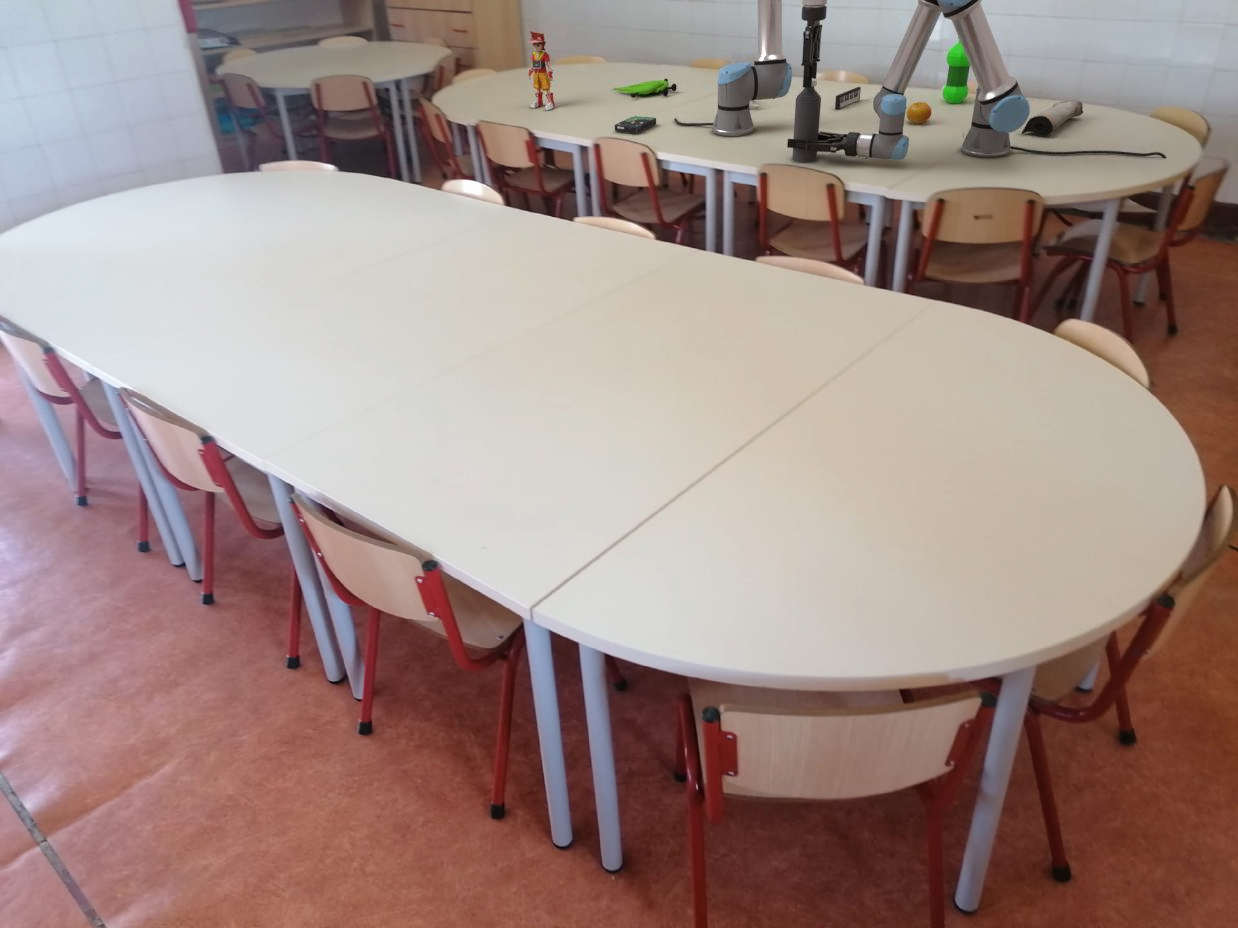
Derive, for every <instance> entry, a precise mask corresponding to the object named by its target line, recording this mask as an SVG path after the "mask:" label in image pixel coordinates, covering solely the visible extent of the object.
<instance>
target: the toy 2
mask: <svg viewBox="0 0 1238 928" xmlns="http://www.w3.org/2000/svg"><path fill="white" fill-rule="evenodd" d="M669 85H670V83H669V79H668V78H664V79H663V80H649V81H644V82H640V83H634V84H629V85H627V86H621V87H613V88H612V89H613V90H616V91H619V92H623V93H627V94H628V93H629V94H631V95H630V96H631V98H632V99H634V98H636V96H637V95H650V94H652V93H654V94H658V93H662V95H663V96H665V97H667V96H668V95H669V90H671V91H672V92H676V91H677V84H676V83H672V84H671V86H669Z"/></svg>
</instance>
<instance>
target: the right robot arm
mask: <svg viewBox="0 0 1238 928" xmlns="http://www.w3.org/2000/svg"><path fill="white" fill-rule="evenodd" d="M917 3H918V4H917V5H916V8H915V11H914V12H913V15H912V17H911V19H910V22H909V24H908V26H907V29H906V31H905V33H904V35H903V37H902V40H901V42H900V45H899V47H898V49H897V51H896V54H895V56H894V58H893V61H892V63H891V65H890V68H889V70H888V72H887V74H886V76H885V78H884V81H883V84H882V86H881V88H880V90H879V92H877V93H876V94H875V95H874V97H873V100H872V107H873V111H874V113H875V114H876V115H877V116H878V118H879V126H878V133H872V132H859V131H858V132H857V131H849V132H848V133H836V132H828V131H821V130H819V135H818V141H808V139H806V140H800V139H794V138H787V143H786V144H787V145H786V148H787V149H789V148H790V149H793V148H800V149H806V151H807V152H817V153H832V154H836V153H837V152H840V151H844V155H845V156H846V157H852V158H853V157H854V158H856V157H858V158H864V159H865V160H868V159H879V160H886V161H887V160H889V161H903V160H904V159H905V158H906V157H907V155H908V151H909V147H910V138H909V136H907V135H905V134H904V126H905V125H904V124H905V118H906V112H907V96H906V95H905V93H906V90H907V88H908V86H909V83H910V81H911V80H912V78H913V76H914V73H915V71H916V69H917V67H918V64H919V62H920V60H921V58H922V56H923V53H924V52H925V49H926V47H927V45H928V43H929V41H930V38H931V35H932V34H933V31H934V30H935V27H936V25H937V23H938V20H939V19H940V16H941V14H942V16H943V18H944V19H947V20H951V22H952V24H953V28H954V30H955V32H956V35H957V38H958V37H959V38H958V40H959V39H960V42H961V44H962V46H963V49H964V51H965V54H966V56H967V59H968V61H969V63H970V68H971V70H972V73H973V75H974V79H975V80H976V82H977V88H976V90H975V91H976V93H975V99H974V104H973V105H974V106H973V112H972V118H971V123H970V128H969V130H968V132H967V134H966V136H965V132H963V134H962V138H963V139H964V140H963V141H962V144H961V149H960V151H961V153H963V154H964V155H967V156H970V157H976V158H984V159H985V158H986V159H988V158H989V159H990V158H991V159H993V158H1000V157H1001V158H1002V157H1005V156H1007V155H1009V154H1010V153H1011V150H1014V151H1020V152H1025V153H1031V154H1038V155H1039V154H1040V155H1059V156H1060V155H1061V156H1062V155H1063V156H1064V155H1082V154H1085V155H1086V154H1087V155H1088V154H1089V155H1090V154H1107V155H1108V154H1109V155H1110V154H1111V155H1125V156H1134V157H1150V156H1159V157H1161V158H1163V159H1167V156H1166V155H1165V154H1164V153H1162V152H1159V151H1153V152H1144V153H1142V152H1132V151H1131V152H1130V151H1121V150H1074V151H1073V150H1071V151H1048V150H1047V151H1045V150H1035V149H1029V148H1025V147H1024V148H1023V147H1019V146H1012V145H1011V139H1010V138H1011V137H1010V133H1014V132H1016V131H1018V130H1019V129H1020V128H1022V127H1023V126H1024V125H1025V123H1027V120H1028V118H1029V116H1030V112H1031V106H1030V104H1029V101H1028V99H1027V98H1026V97H1025V96H1024V95H1023V92H1022V90H1021V88H1020V84H1019V82H1018V80H1017V78H1016V77H1014V76H1010V75H1009V73H1008V70H1007V68H1006V65H1005V62H1004V60H1003V57H1002V55H1001V52H1000V49H999V47H998V44H997V42H996V39H995V37H994V35H993V31H992V30H991V27H990V24H989V21H988V19H987V17H986V14H985V11H984V9H983V6H982V0H917Z"/></svg>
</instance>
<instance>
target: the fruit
mask: <svg viewBox="0 0 1238 928" xmlns="http://www.w3.org/2000/svg"><path fill="white" fill-rule="evenodd" d="M931 116H932V108H931V106H930V105H929V104H928V103H926V102H924V101H919V102H914V103H912V104H910V106H908V108H907V109H906V119H907V120H908V121H909V122H910V123H911V124H924V123H926V122H928V121H929V119H930V117H931Z"/></svg>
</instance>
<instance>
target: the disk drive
mask: <svg viewBox="0 0 1238 928" xmlns="http://www.w3.org/2000/svg"><path fill="white" fill-rule="evenodd" d="M656 125H657V117H652V116H651V117H650V116H637V115H633V116H630V117H628V118H626V119H624V120H621V121H619V122H618V123H615V124H614V132H617V133H618V132H619V133H626V134H635V135H637V134H639V133H642V132H644V131H646V130H647V129H651V128H653V127H654V126H656Z"/></svg>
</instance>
